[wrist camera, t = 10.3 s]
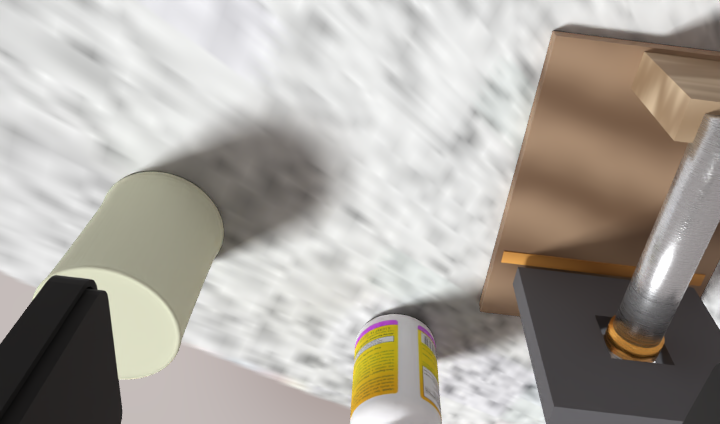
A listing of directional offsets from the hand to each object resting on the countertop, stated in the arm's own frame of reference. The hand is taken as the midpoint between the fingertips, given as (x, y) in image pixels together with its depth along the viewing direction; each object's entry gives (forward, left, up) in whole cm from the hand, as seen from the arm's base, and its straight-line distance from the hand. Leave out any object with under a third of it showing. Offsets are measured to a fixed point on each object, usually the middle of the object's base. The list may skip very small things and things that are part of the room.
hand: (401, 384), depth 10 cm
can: (+21, -15, -34) cm, 42 cm away
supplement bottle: (+30, +4, -34) cm, 45 cm away
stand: (+14, +18, -33) cm, 40 cm away
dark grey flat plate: (+20, +18, -31) cm, 41 cm away
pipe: (+14, +18, -27) cm, 35 cm away
